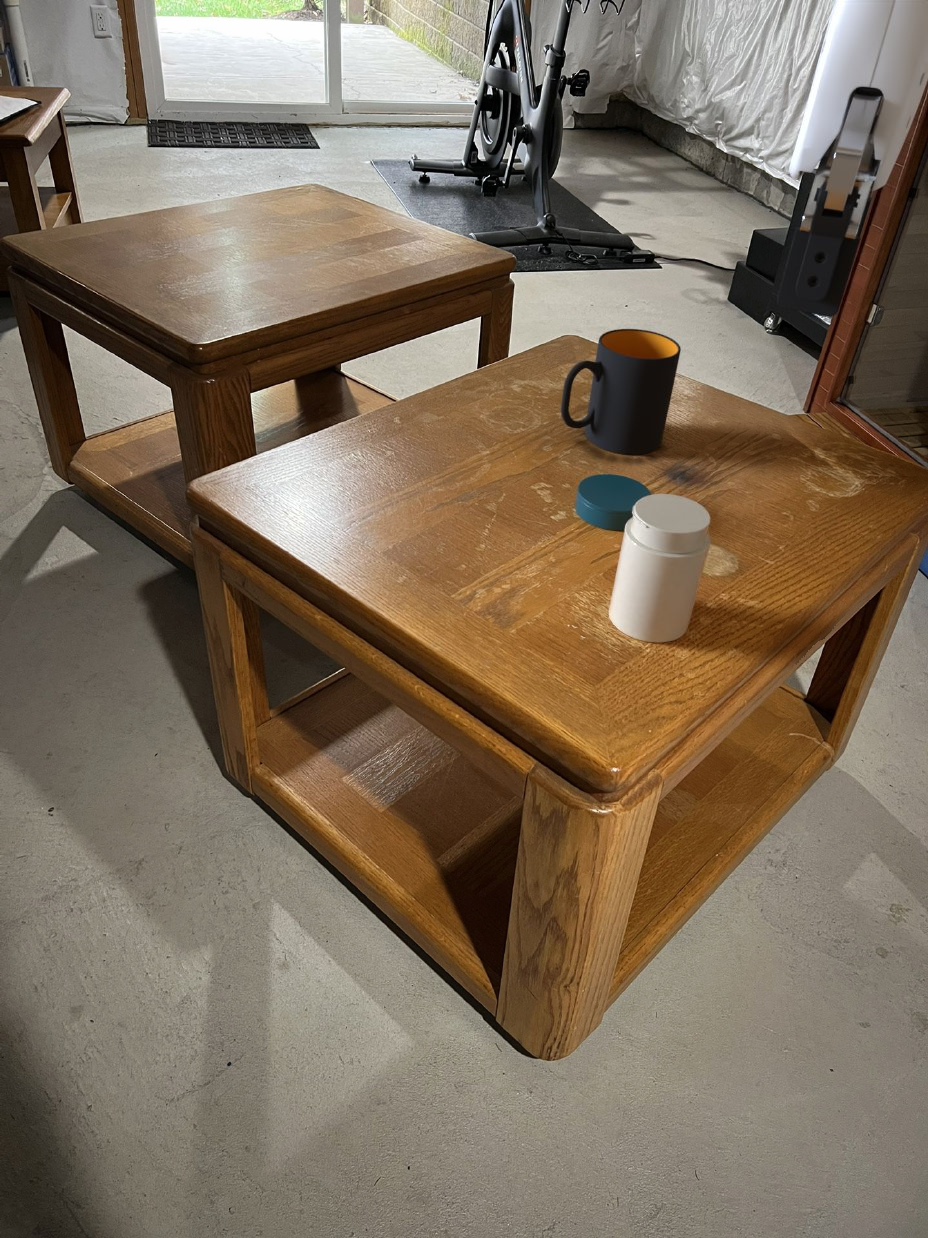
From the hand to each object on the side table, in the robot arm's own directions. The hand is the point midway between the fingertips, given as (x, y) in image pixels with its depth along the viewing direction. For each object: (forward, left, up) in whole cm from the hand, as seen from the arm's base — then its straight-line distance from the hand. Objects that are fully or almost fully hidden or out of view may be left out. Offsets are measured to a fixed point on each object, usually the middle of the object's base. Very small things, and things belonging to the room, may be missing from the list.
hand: (815, 285), depth 54 cm
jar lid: (-2, -22, -27) cm, 35 cm away
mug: (-8, -36, -28) cm, 47 cm away
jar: (+2, -6, -28) cm, 29 cm away
